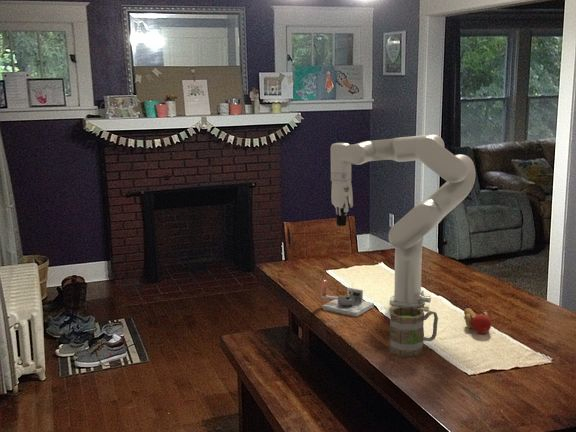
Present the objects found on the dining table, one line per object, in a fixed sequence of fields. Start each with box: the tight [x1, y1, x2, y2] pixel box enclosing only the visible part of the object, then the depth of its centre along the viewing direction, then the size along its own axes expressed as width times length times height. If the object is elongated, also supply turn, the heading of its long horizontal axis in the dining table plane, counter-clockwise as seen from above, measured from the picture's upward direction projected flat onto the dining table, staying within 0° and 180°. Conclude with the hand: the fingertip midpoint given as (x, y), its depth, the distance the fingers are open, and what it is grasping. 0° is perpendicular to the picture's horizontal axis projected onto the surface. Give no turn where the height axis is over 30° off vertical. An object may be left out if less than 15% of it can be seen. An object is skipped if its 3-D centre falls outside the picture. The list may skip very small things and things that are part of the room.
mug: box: [388, 306, 439, 358], centre depth 197 cm, size 16×11×12 cm
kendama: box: [463, 307, 492, 334], centre depth 215 cm, size 8×6×18 cm
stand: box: [322, 287, 375, 318], centre depth 234 cm, size 14×12×6 cm
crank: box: [320, 279, 355, 306], centre depth 235 cm, size 12×6×8 cm, turn 68°
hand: (341, 225), depth 244 cm, fingers closed
